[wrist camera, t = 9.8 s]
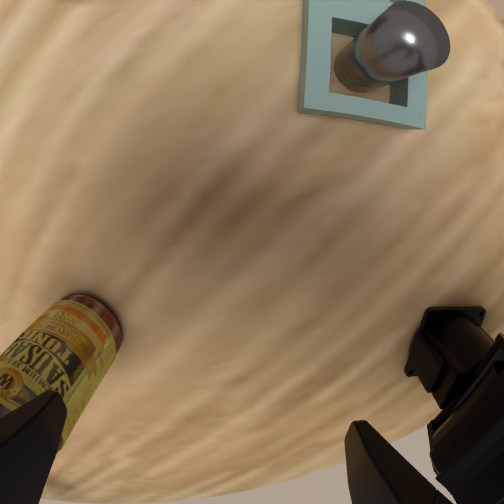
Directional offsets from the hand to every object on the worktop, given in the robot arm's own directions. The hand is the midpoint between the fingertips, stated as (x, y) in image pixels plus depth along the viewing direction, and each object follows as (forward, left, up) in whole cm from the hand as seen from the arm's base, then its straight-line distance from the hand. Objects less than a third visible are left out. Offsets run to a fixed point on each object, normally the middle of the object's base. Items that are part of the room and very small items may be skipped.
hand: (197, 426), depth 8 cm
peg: (-7, -13, -13) cm, 19 cm away
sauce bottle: (+11, +6, -13) cm, 18 cm away
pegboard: (-7, -16, -13) cm, 22 cm away
